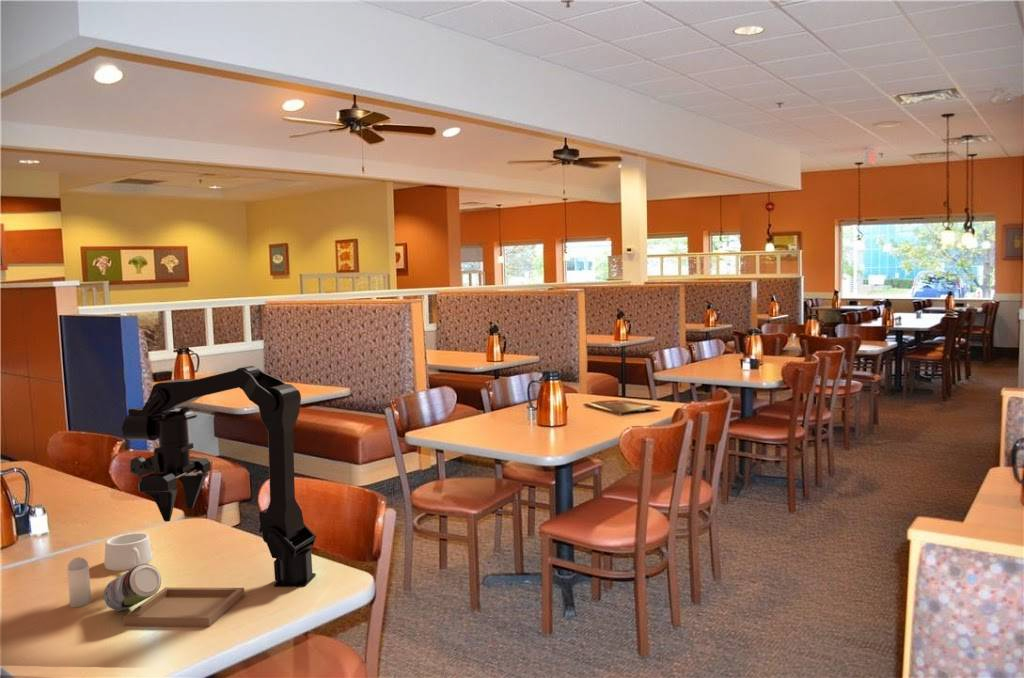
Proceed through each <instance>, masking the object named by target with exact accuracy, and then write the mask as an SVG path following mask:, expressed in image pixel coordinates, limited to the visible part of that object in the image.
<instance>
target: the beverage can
mask: <svg viewBox="0 0 1024 678" xmlns="http://www.w3.org/2000/svg"><path fill="white" fill-rule="evenodd" d="M161 585H162V576H161V574H160V572H159V570H158V569H157V568H156V566H154V565H151V564H149V563H148V564H141V565H138V566H136V567H134V568H133V569H129V570H127V571H126V572H125V573H122V574H121V575H119V576H117V577H116V578H113V579H112V580H110V582H109V583H107V585H106V587H105V588H104V591H103V601H104V603H105V605H106V606H107V607H108V608H109V609H111V610H114V611H118V612H119V611H120V612H121V611H122V612H123V611H126V610H128V609H130V608H132V607H134V606H136V605H137V604H139V603H141V602H143V601H146V600H148V599H150V598H151V597H152V596H154V595H155V594H157V593H158V592H159V590H160V589H161Z"/></svg>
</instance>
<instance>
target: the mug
mask: <svg viewBox="0 0 1024 678" xmlns="http://www.w3.org/2000/svg"><path fill="white" fill-rule="evenodd" d="M104 545H105V546H104V560H103V562H104V568H105V569H106V570H109V571H114V572H115V571H118V572H119V571H120V572H121V571H129V570H131V569H133V568H134V567H136V566H138V565H141V564H149V563H151V562H153V560H154V552H153V547H152V543H151V538H150V534H147V533H144V532H131V533H125V534H120V535H116V536H112V537H111V538H109V539H107V540H106V541H105V543H104Z"/></svg>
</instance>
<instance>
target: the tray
mask: <svg viewBox="0 0 1024 678" xmlns="http://www.w3.org/2000/svg"><path fill="white" fill-rule="evenodd" d="M245 595H246V594H245V587H182V586H181V587H171V586H170V587H167V586H166V587H164V588H162V589H161V590H160V591H157V592H156V593H155V594H154V595H153V596H151V597H149V598H147V599H146V600H144V602H142V603H141V604H139V605H138V606H137V607H135V608H134V609H132V610H131V611H129V612H128V613H127V614H125V615H124V616H123V617H122V620H123V626H124V627H187V628H188V627H192V628H193V627H197V628H198V627H199V628H201V627H202V628H203V627H204V628H210V627H212V626H213V624H215V622H216V621H218V620H219V619H220V618H221V617H223V615H225V613H227V612H228V611H229V610H230V609H232V608H233V607H234V606H235V605H236V604H237V603H238V602H239V601H241V599H243V598H244V597H245Z"/></svg>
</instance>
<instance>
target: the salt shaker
mask: <svg viewBox="0 0 1024 678" xmlns="http://www.w3.org/2000/svg"><path fill="white" fill-rule="evenodd" d="M90 579H91V577H90V565H89V563H88V561H87V560H86V558H84V557H81V556H80V557H78V556H77V557H75V558H72V559H71V560H70V561H69V563H68V564H67V581H68V597H69V606H70V607H71V608H79V607H84V606H88V605H89V604H91V603H92V592H91V581H90Z"/></svg>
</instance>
